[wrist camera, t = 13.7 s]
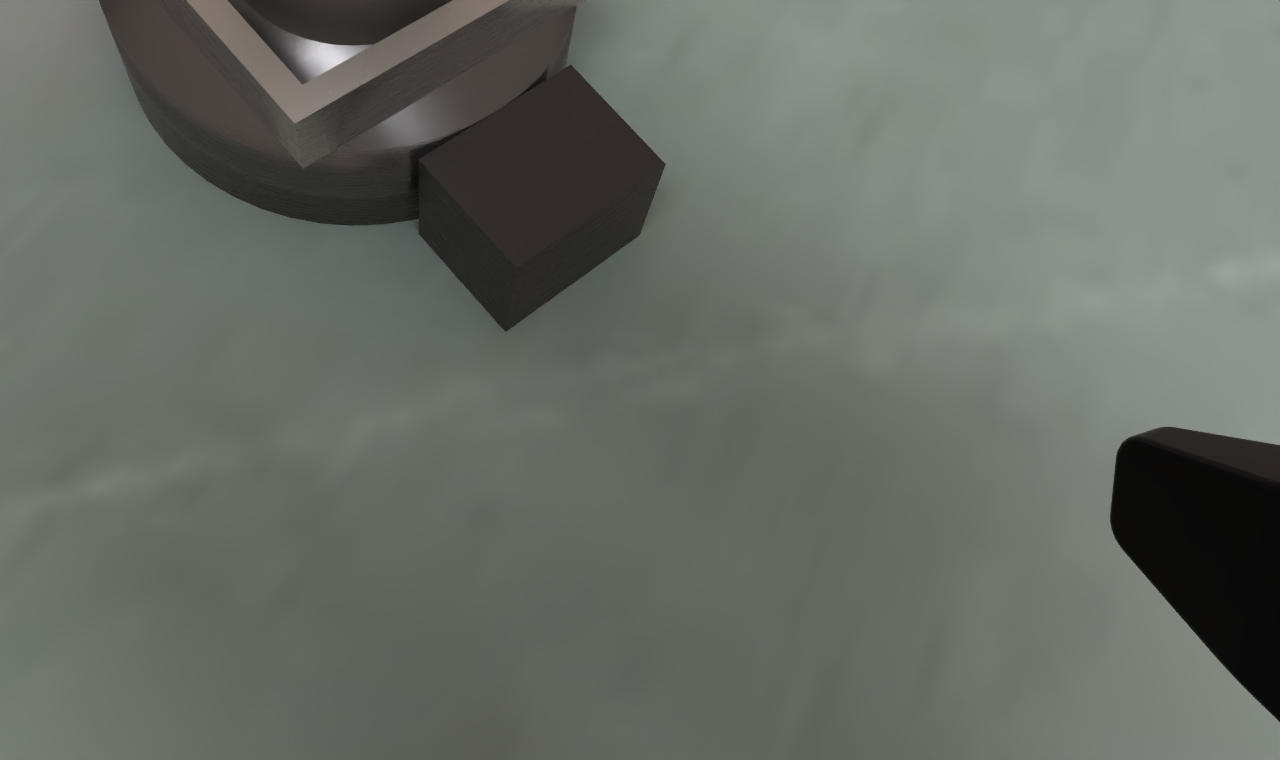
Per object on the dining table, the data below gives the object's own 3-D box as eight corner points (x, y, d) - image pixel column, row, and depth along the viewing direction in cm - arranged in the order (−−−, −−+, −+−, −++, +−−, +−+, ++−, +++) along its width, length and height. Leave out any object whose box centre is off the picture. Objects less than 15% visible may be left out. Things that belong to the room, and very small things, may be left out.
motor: (729, 169, 26) (785, 50, 22) (393, 412, 23) (387, 322, 19) (393, -180, 29) (388, -347, 24) (35, -11, 25) (-43, -175, 21)
